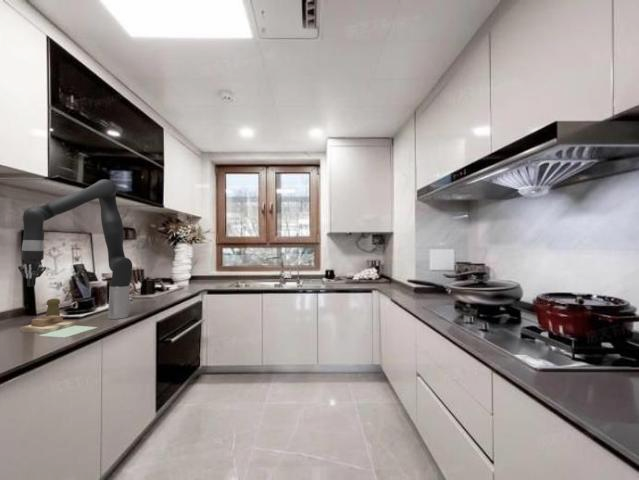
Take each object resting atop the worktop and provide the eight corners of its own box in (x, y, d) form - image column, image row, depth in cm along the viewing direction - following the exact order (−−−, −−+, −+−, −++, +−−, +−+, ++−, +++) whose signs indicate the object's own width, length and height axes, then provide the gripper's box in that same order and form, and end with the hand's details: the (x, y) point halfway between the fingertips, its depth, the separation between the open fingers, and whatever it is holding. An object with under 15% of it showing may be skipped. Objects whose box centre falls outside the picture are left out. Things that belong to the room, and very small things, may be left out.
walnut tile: (51, 321, 141) (52, 315, 141) (62, 322, 140) (63, 315, 140) (31, 326, 132) (31, 319, 132) (42, 327, 131) (43, 320, 131)
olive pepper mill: (63, 319, 152) (64, 298, 153) (51, 322, 146) (52, 300, 147) (53, 318, 153) (54, 297, 153) (41, 321, 147) (42, 299, 147)
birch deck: (50, 324, 143) (50, 320, 143) (75, 325, 141) (75, 321, 141) (20, 331, 130) (20, 327, 130) (47, 333, 128) (47, 329, 128)
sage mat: (74, 326, 140) (74, 325, 140) (97, 327, 139) (97, 327, 139) (38, 336, 124) (38, 335, 124) (64, 338, 123) (64, 337, 123)
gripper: (53, 250, 141) (51, 285, 140) (29, 249, 142) (27, 284, 142) (36, 250, 133) (34, 288, 133) (11, 249, 135) (9, 286, 134)
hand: (31, 286), depth 137 cm, fingers closed
